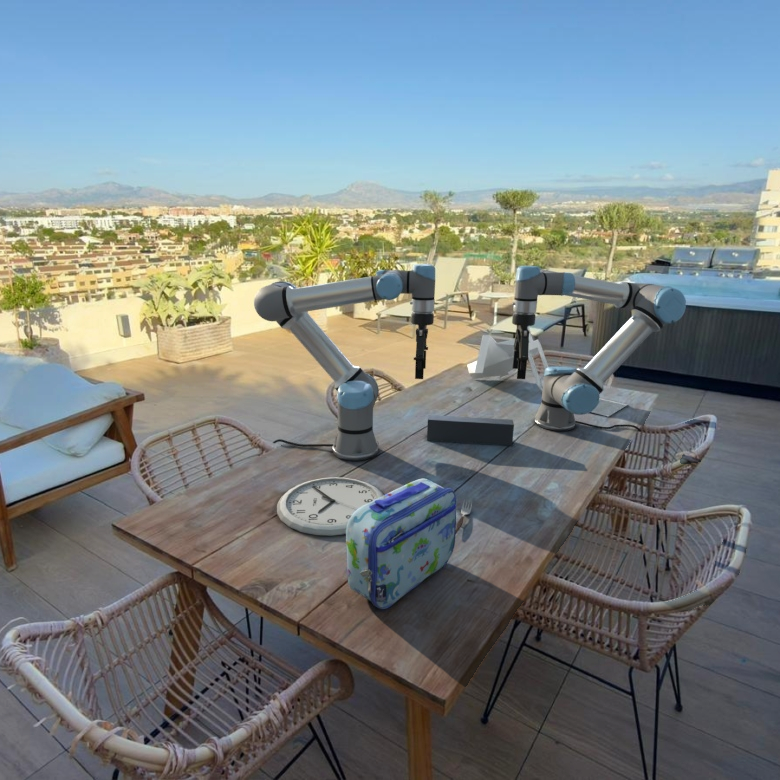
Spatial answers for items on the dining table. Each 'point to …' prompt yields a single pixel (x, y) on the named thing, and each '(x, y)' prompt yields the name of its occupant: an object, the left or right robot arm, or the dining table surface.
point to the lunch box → (400, 540)
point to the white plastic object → (503, 358)
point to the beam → (470, 430)
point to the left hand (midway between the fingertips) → (420, 373)
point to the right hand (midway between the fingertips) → (518, 373)
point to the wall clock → (324, 504)
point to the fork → (464, 512)
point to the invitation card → (607, 407)
